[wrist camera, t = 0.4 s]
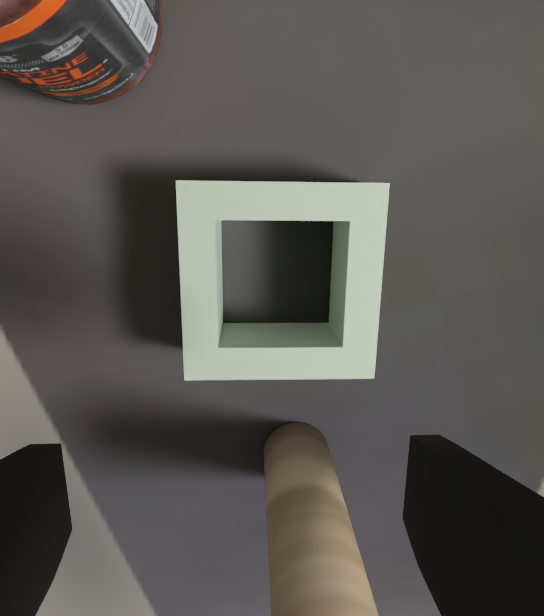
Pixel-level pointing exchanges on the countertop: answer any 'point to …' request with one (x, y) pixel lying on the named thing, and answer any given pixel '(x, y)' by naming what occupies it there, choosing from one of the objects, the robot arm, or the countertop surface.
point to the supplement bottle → (79, 46)
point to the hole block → (282, 336)
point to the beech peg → (310, 530)
